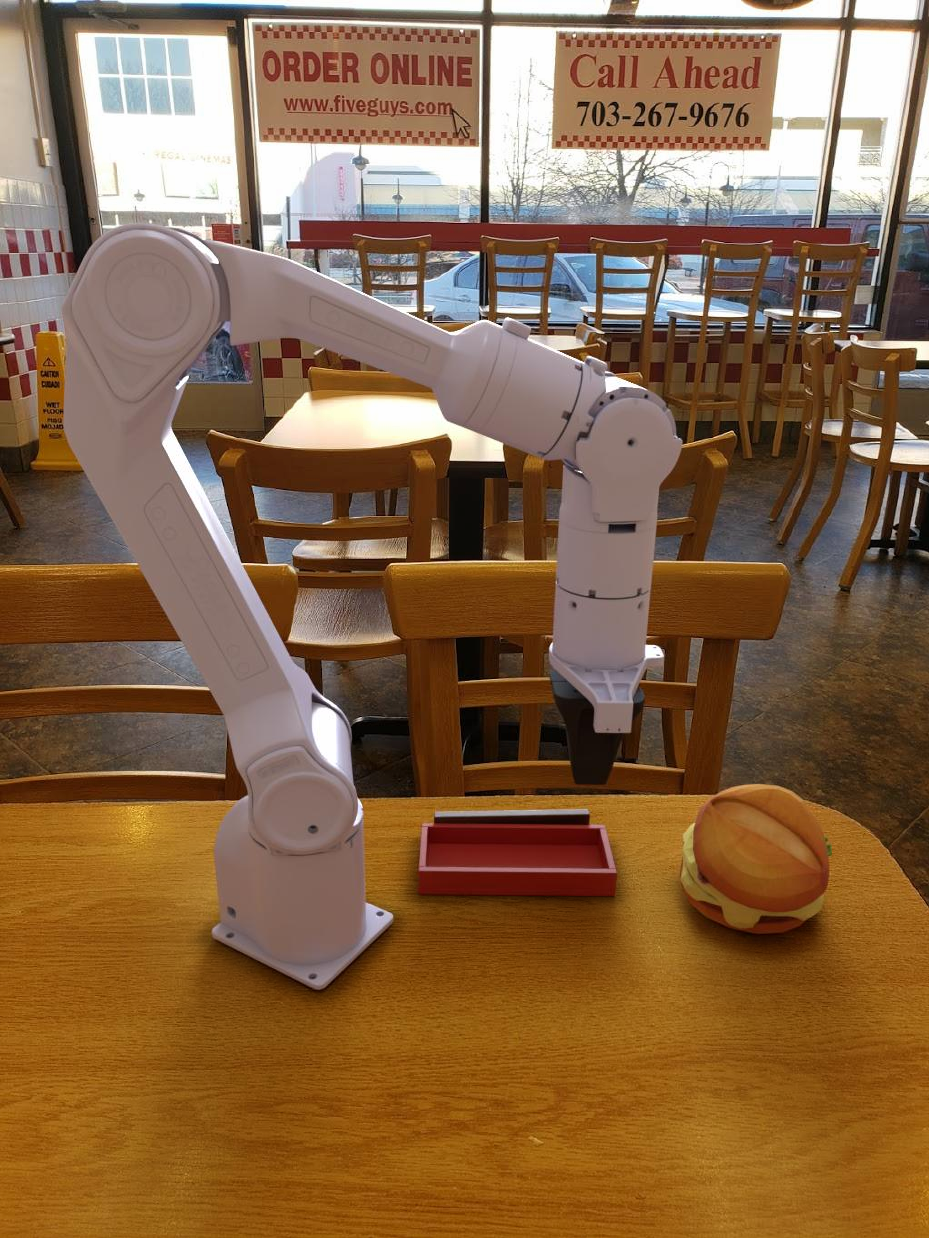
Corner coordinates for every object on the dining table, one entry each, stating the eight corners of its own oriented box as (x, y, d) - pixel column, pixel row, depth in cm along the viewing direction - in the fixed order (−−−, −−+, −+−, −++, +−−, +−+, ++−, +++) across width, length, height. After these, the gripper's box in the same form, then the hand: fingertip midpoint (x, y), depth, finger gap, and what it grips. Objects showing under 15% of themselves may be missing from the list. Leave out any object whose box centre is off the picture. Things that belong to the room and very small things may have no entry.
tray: (615, 896, 67) (617, 873, 66) (418, 894, 67) (418, 871, 66) (603, 846, 72) (605, 824, 72) (421, 844, 72) (421, 822, 72)
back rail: (588, 841, 73) (590, 814, 72) (434, 844, 72) (434, 816, 71) (586, 835, 74) (588, 808, 73) (433, 838, 73) (433, 811, 72)
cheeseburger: (801, 853, 72) (832, 758, 66) (832, 977, 63) (870, 880, 57) (667, 842, 72) (685, 747, 67) (679, 964, 64) (701, 866, 58)
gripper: (696, 629, 50) (672, 844, 55) (647, 549, 64) (632, 727, 68) (564, 627, 50) (552, 843, 55) (543, 547, 63) (535, 726, 68)
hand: (589, 779), depth 62 cm, fingers closed
